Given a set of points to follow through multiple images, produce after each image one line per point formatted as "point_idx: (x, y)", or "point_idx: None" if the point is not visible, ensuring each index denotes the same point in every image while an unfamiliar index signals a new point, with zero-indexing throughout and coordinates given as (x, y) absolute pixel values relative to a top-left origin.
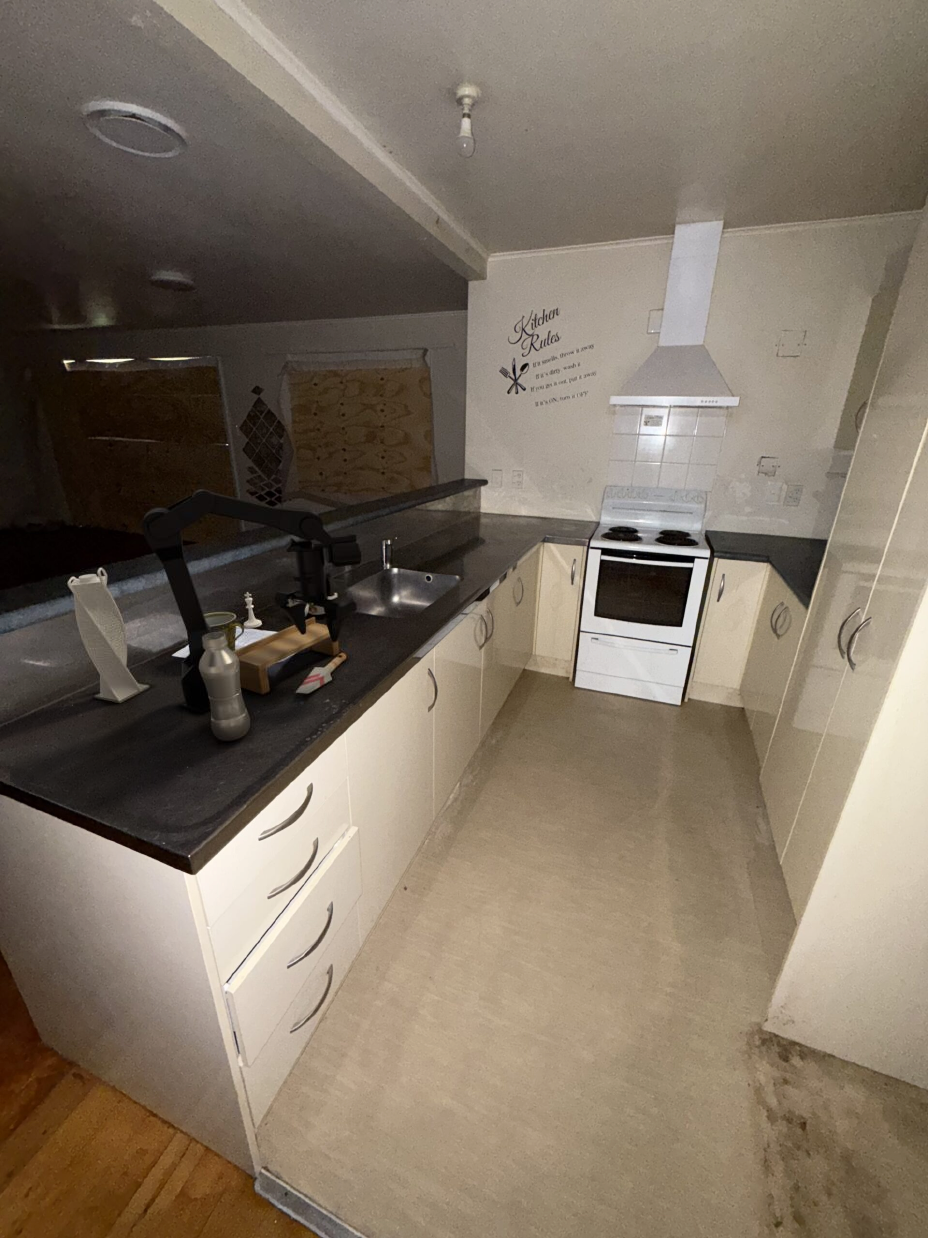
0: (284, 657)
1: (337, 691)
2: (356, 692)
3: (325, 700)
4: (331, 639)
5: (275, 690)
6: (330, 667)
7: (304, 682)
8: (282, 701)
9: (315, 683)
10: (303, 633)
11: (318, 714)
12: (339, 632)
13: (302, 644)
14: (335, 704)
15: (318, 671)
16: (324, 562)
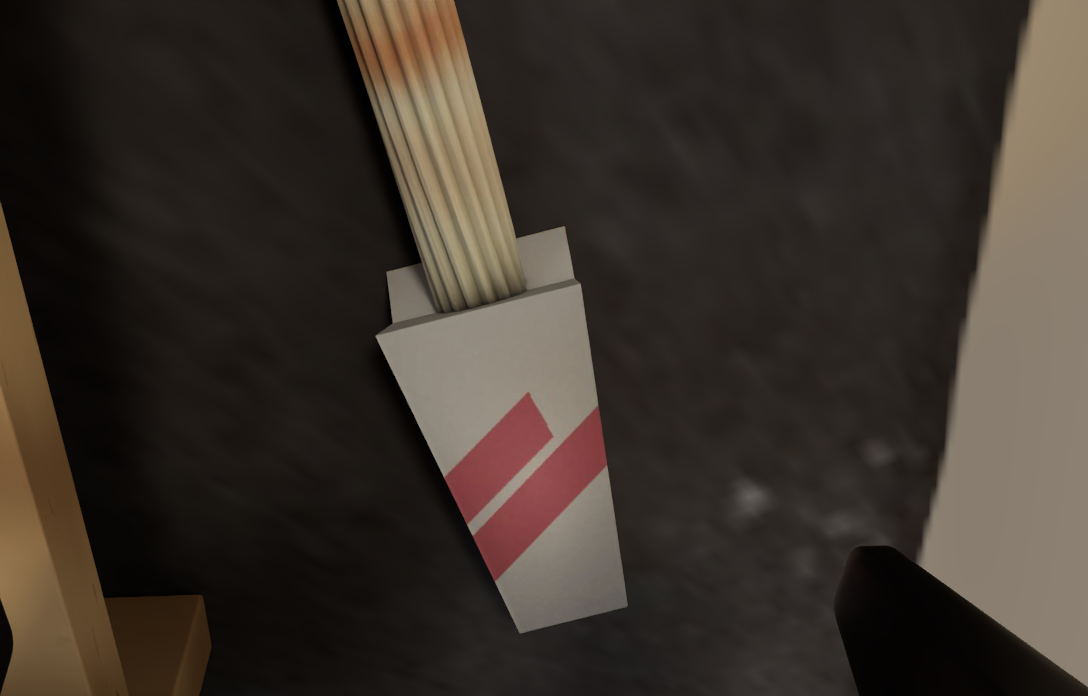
0: (114, 669)
1: (751, 372)
2: (926, 315)
3: (733, 504)
4: (858, 682)
5: (238, 571)
6: (485, 176)
7: (486, 540)
8: (435, 634)
9: (599, 514)
10: (2, 648)
11: (787, 625)
12: (1056, 665)
13: (3, 436)
14: (838, 508)
15: (481, 379)
16: None
